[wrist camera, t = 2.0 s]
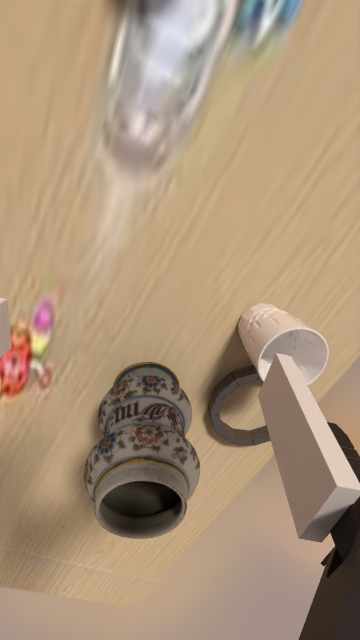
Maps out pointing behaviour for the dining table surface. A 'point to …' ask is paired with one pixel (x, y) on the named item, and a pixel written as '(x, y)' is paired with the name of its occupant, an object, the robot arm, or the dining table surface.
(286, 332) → the white cup
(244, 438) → the collar ring
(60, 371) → the dining table surface
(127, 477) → the apothecary jar
